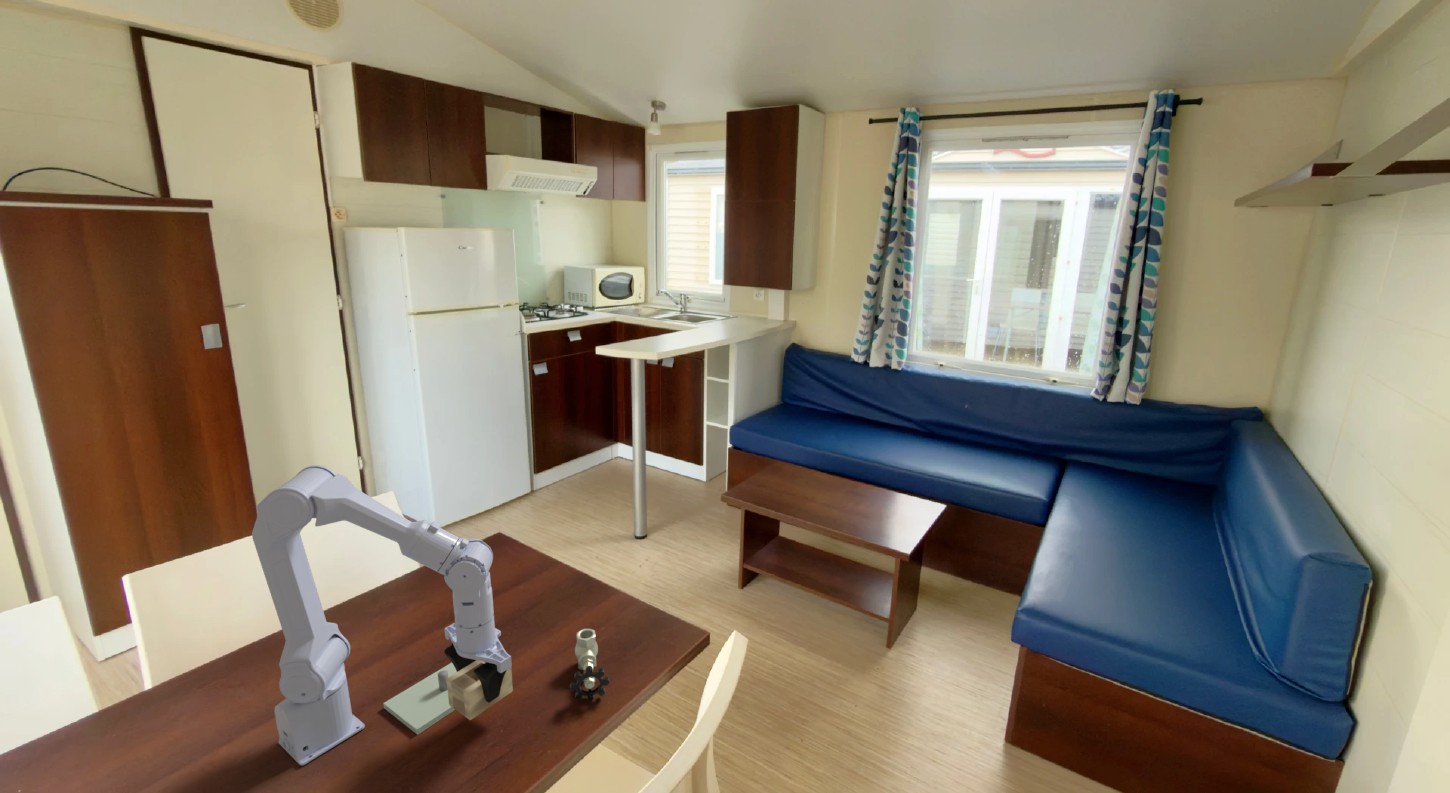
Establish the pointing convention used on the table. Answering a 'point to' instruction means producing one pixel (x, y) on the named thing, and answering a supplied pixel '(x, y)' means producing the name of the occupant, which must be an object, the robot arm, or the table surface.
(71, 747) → the table surface
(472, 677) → the collar block
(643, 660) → the table surface
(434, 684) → the pin base
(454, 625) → the robot arm
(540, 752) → the table surface
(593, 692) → the valve
